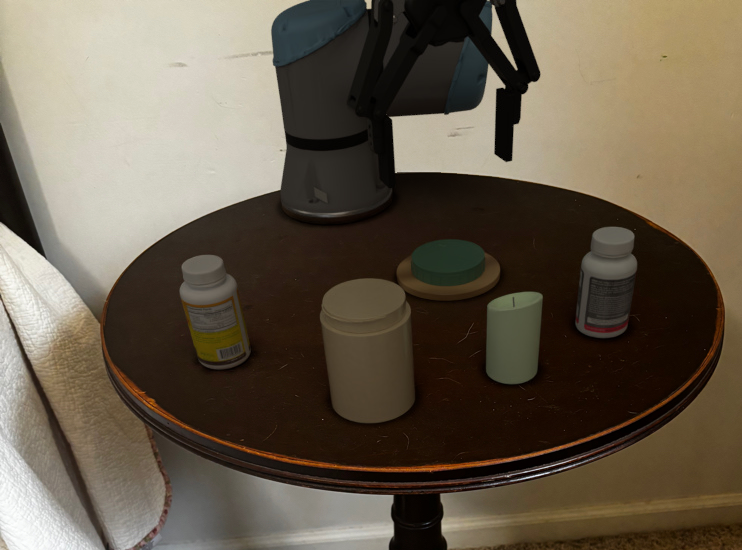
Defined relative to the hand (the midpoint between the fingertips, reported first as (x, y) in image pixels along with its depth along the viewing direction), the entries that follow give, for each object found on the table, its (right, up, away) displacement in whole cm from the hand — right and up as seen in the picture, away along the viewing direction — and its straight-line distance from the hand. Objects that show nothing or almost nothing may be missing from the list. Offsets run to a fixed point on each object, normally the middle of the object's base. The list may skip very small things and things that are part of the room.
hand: (446, 170), depth 85 cm
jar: (-7, -26, -9) cm, 28 cm away
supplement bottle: (-23, -21, -2) cm, 31 cm away
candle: (+6, -23, -7) cm, 25 cm away
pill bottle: (+16, -17, -2) cm, 24 cm away
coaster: (+1, -9, +8) cm, 12 cm away
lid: (+1, -7, +7) cm, 10 cm away
